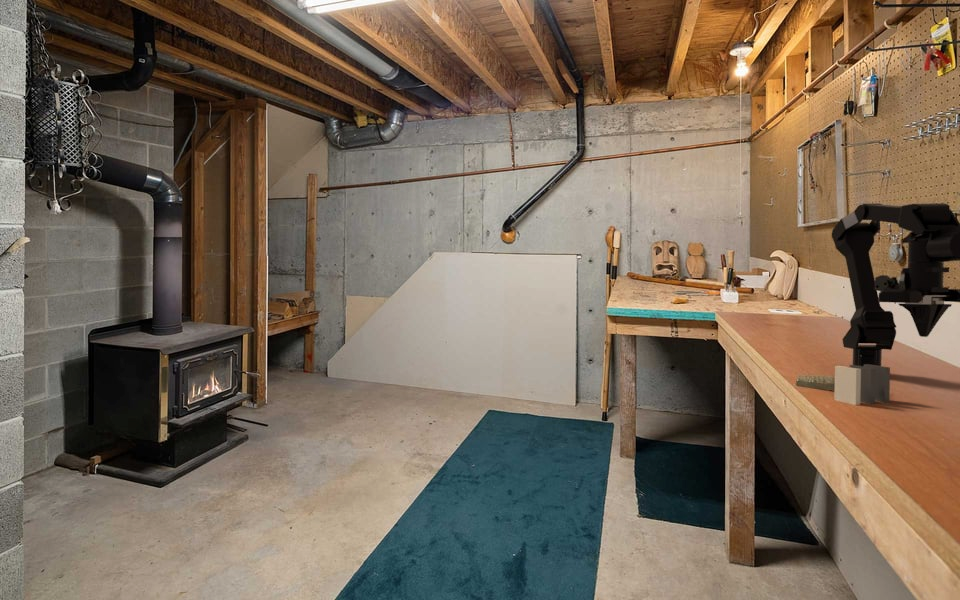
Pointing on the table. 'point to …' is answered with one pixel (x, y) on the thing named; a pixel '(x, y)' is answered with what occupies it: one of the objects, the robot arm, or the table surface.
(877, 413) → the table surface
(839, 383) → the end domino
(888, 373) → the domino
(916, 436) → the table surface
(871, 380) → the domino
